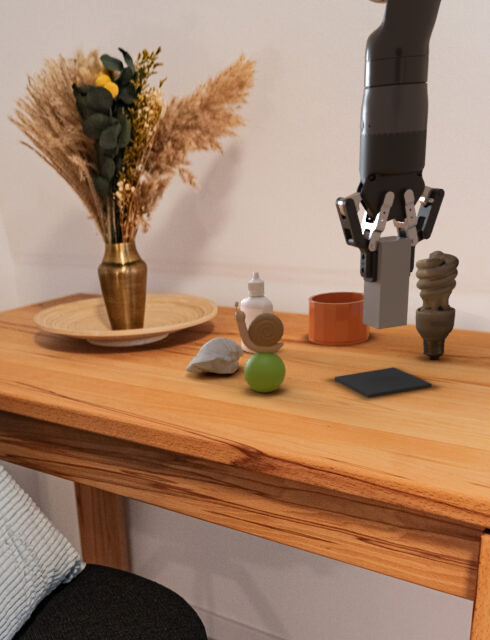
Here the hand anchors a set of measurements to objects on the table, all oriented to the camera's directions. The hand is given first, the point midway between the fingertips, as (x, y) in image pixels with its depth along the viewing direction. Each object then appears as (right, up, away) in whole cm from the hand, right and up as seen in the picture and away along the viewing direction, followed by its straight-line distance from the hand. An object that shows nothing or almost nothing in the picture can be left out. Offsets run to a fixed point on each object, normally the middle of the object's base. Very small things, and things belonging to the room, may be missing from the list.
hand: (386, 278), depth 105 cm
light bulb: (+10, -8, +15) cm, 20 cm away
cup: (+1, -1, +29) cm, 29 cm away
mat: (+1, -12, +6) cm, 14 cm away
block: (0, -5, +2) cm, 6 cm away
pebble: (-20, -9, +17) cm, 28 cm away
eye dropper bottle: (-13, -4, +26) cm, 30 cm away
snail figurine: (-15, -13, +7) cm, 21 cm away
